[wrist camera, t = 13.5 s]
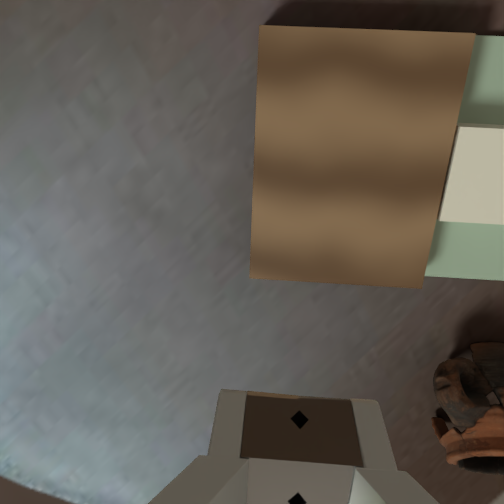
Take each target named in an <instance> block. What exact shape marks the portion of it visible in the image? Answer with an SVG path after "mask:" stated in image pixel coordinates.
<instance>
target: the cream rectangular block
mask: <svg viewBox="0 0 504 504" xmlns="http://www.w3.org/2000/svg"><path fill="white" fill-rule="evenodd" d="M437 219H438V220H439V221H447V222H464V223H481V224H499V225H504V125H496V124H476V123H457V125H456V130H455V134H454V139H453V144H452V149H451V153H450V158H449V163H448V167H447V172H446V177H445V182H444V186H443V191H442V196H441V200H440V205H439V210H438V214H437Z"/></svg>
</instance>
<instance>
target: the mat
mask: <svg viewBox="0 0 504 504" xmlns="http://www.w3.org/2000/svg"><path fill="white" fill-rule="evenodd" d="M457 123H476V124H496V125H504V36H482V35H476V36H475V40H474V45H473V50H472V54H471V59H470V64H469V69H468V73H467V78H466V83H465V87H464V92H463V97H462V102H461V106H460V111H459V116H458V120H457ZM425 276H436V277H452V278H469V279H486V280H503V281H504V225H499V224H481V223H464V222H447V221H439V220H438V219H436V224H435V229H434V233H433V238H432V243H431V247H430V252H429V257H428V262H427V266H426V271H425Z"/></svg>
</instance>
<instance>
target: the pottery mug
mask: <svg viewBox="0 0 504 504" xmlns="http://www.w3.org/2000/svg"><path fill="white" fill-rule="evenodd" d="M470 347H471V351H472V353H473V354H472V358H473V362H472V361H470V360H468V359H466V358H453V359H451V360H446V361H445V362H442V363H441V364H440V365H439V366H438V367H437V369H436V371H435V373H434V378H433V384H434V391H435V395H436V398H437V400H438V402H439V404H440V406H441V407H442V408H443V409H444V411H446V413H447V414H448V416H449V418H450V419H451V421H452V423H454V424H455V425H456V426H459V427H466V430H464V431H463V432H460V431H459V430H458V429H457V428H456V427H453V428H451V429H450V430H448V428H447V426H446V423H445V421H444V420H443V419H442V418H437V417H432V427H433V428H434V430H435V434H436V435H437V437H438V439H439V442H440V443H441V444H442V445H443V446H444V447H445V448H446V452H447V455H446V460H447V462H448V463H450V464H454V465H457V464H458V465H459V468H460V469H462V470H466V471H471V472H475V473H483V474H492V475H504V343H500V342H482V343H474V344H471V345H470ZM491 391H493V392H494V393H495V395H496V396H497V398H498V400H499V402H500V405H497V404H493V405H490V404H489V400H488V399H487V398H486V396H487V395H488V394H489V393H490V392H491Z"/></svg>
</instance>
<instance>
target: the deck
mask: <svg viewBox="0 0 504 504" xmlns="http://www.w3.org/2000/svg"><path fill="white" fill-rule="evenodd" d="M475 36H476V33H457V32H431V31H404V30H378V29H351V28H325V27H298V26H272V25H259V46H258V72H257V97H256V123H255V149H254V175H253V200H252V226H251V252H250V278H254V279H270V280H287V281H303V282H320V283H336V284H353V285H369V286H386V287H402V288H419V289H422V285H423V280H424V276H425V271H426V266H427V262H428V257H429V252H430V247H431V243H432V238H433V233H434V229H435V224H436V219H437V214H438V210H439V205H440V200H441V196H442V191H443V186H444V182H445V177H446V172H447V167H448V163H449V158H450V153H451V149H452V144H453V139H454V134H455V130H456V125H457V120H458V116H459V111H460V106H461V102H462V97H463V92H464V87H465V83H466V78H467V73H468V69H469V64H470V59H471V54H472V50H473V45H474V40H475Z"/></svg>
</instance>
